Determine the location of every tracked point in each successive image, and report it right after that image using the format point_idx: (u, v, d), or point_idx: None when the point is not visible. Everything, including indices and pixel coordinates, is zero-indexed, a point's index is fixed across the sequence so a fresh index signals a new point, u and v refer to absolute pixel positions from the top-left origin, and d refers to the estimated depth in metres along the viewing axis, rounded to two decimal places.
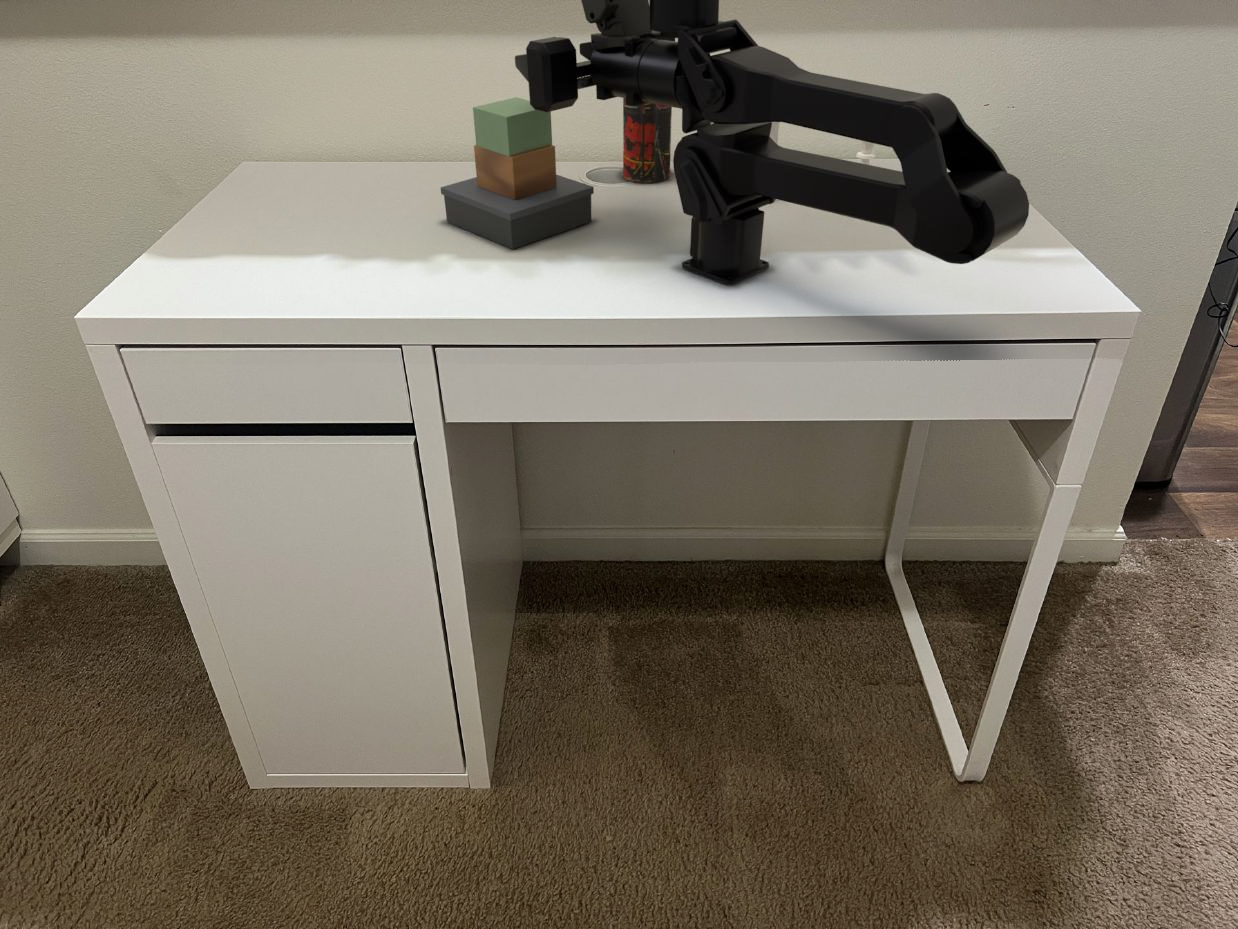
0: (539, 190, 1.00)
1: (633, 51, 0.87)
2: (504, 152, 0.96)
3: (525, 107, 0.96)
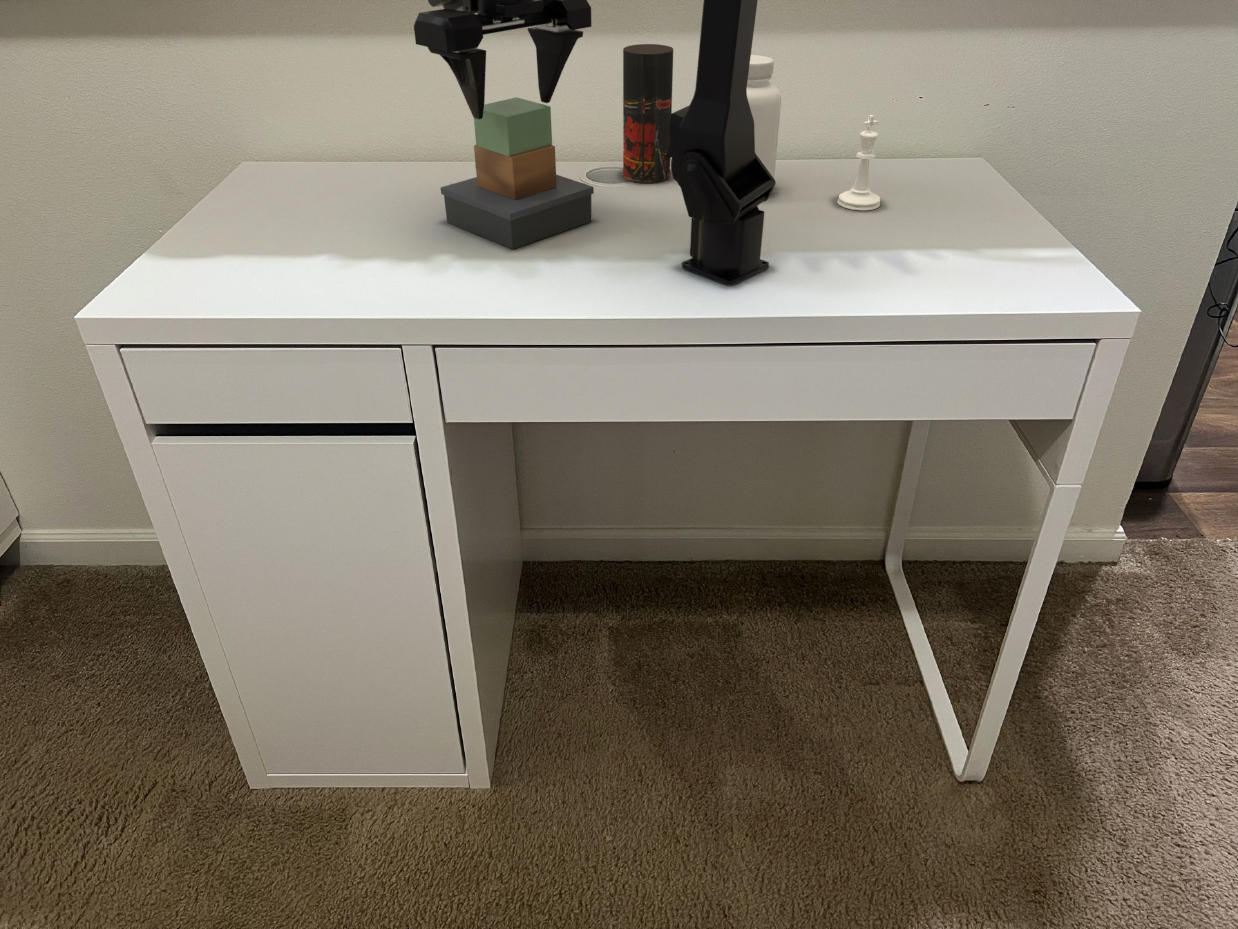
0: (539, 190, 1.00)
1: None
2: (504, 152, 0.96)
3: (525, 107, 0.96)
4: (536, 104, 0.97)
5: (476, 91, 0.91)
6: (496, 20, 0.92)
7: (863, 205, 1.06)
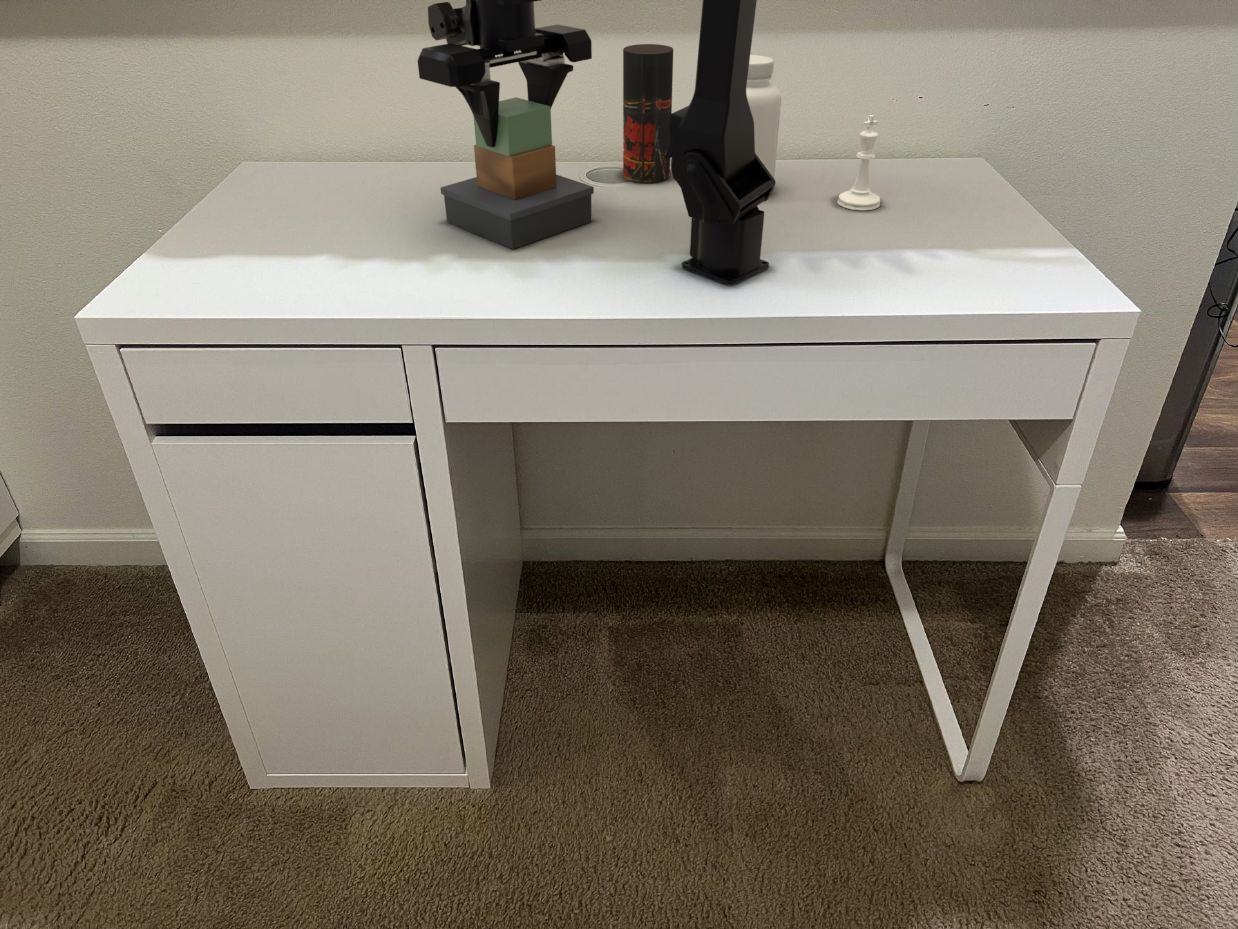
0: (539, 190, 1.00)
1: None
2: (504, 152, 0.96)
3: (525, 107, 0.96)
4: (536, 104, 0.97)
5: (490, 121, 0.93)
6: None
7: (863, 205, 1.06)
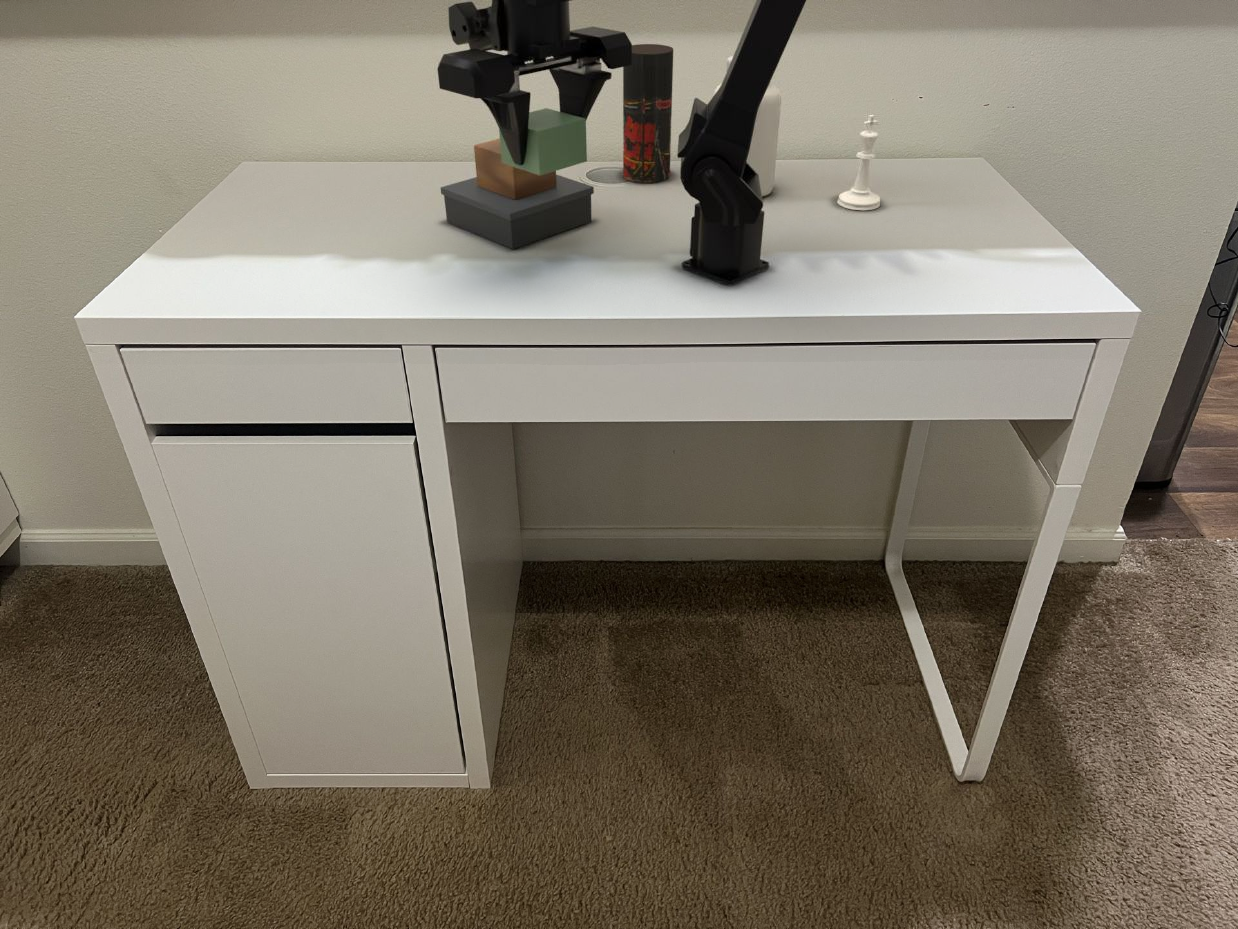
0: (539, 190, 1.00)
1: None
2: (534, 171, 0.85)
3: (557, 120, 0.85)
4: (569, 116, 0.86)
5: (518, 136, 0.83)
6: None
7: (863, 205, 1.06)
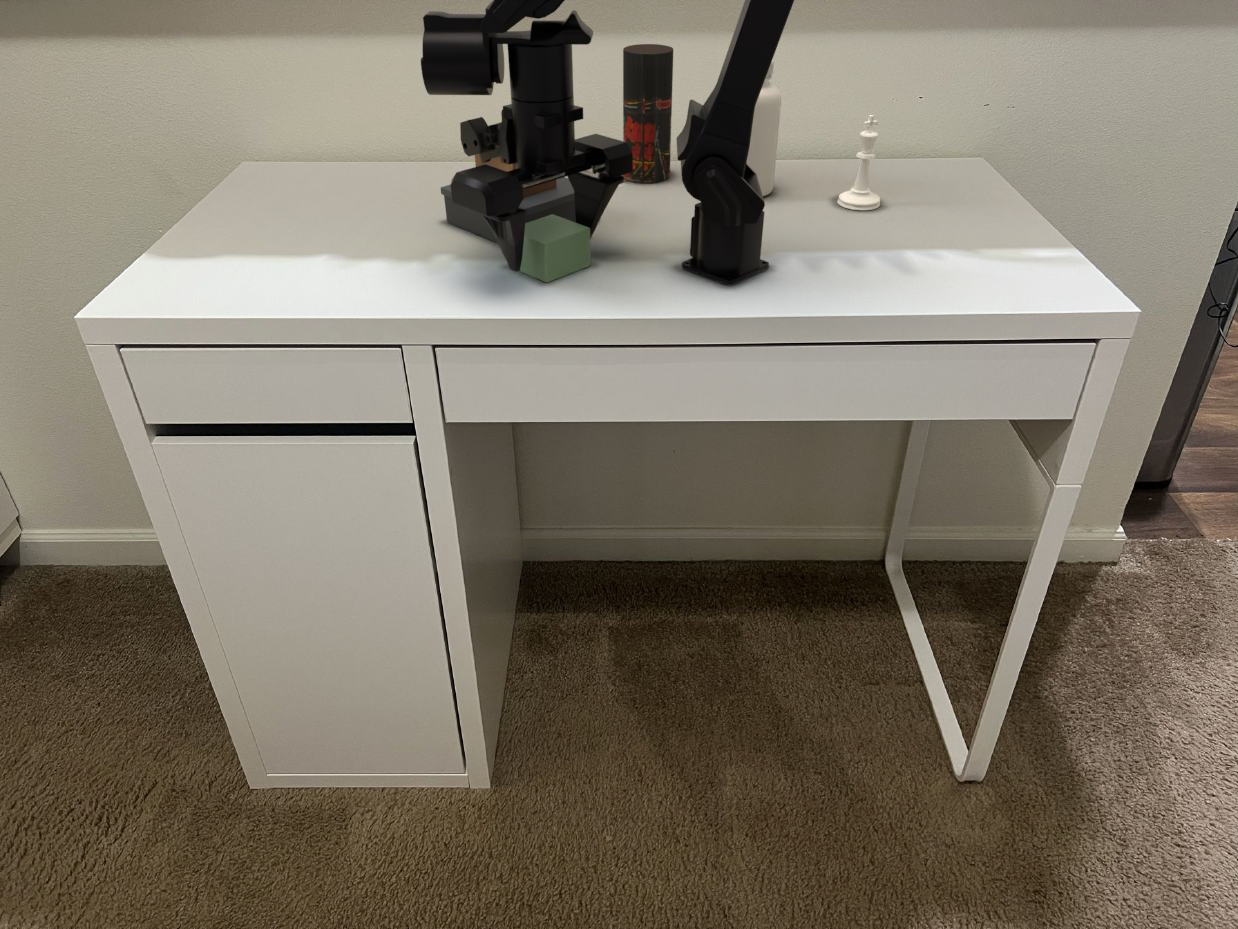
0: (539, 190, 1.00)
1: (510, 107, 0.84)
2: (541, 278, 0.90)
3: (563, 229, 0.91)
4: (574, 225, 0.92)
5: (514, 247, 0.87)
6: None
7: (863, 205, 1.06)
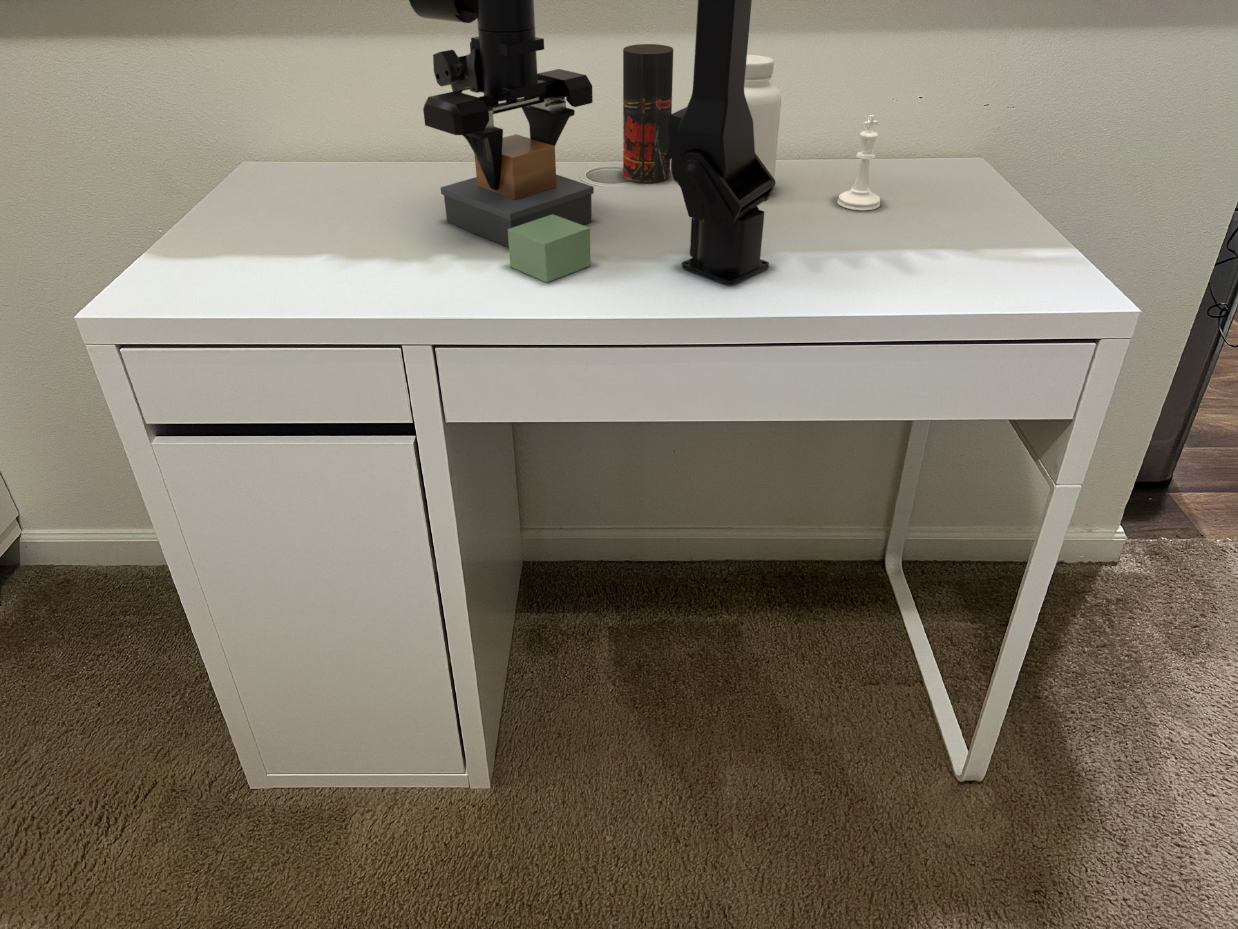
0: (539, 190, 1.00)
1: (477, 38, 0.93)
2: (541, 278, 0.90)
3: (563, 229, 0.91)
4: (574, 225, 0.92)
5: (493, 165, 0.96)
6: None
7: (863, 205, 1.06)
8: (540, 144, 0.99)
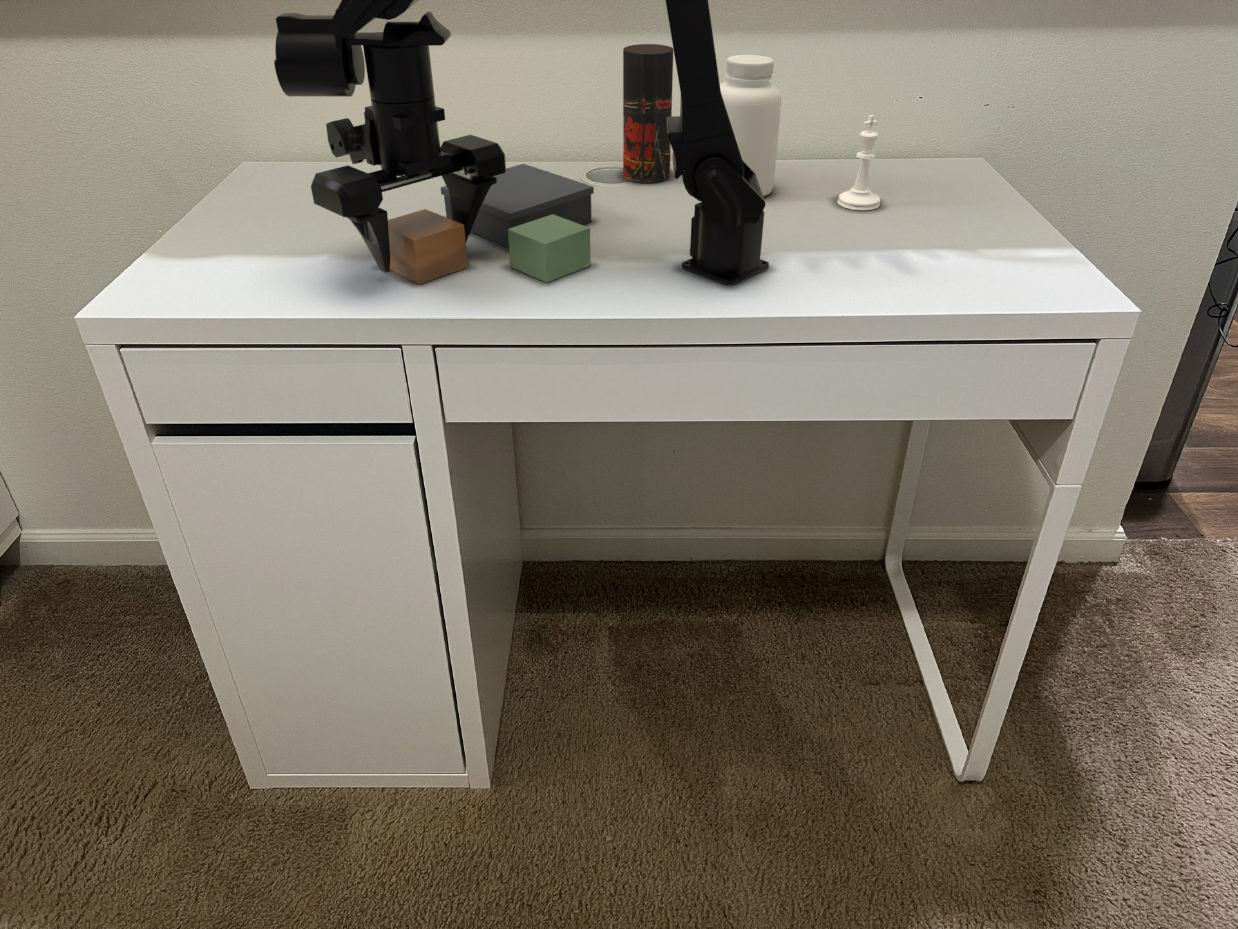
0: (448, 272, 0.92)
1: (371, 108, 0.84)
2: (541, 278, 0.90)
3: (563, 229, 0.91)
4: (574, 225, 0.92)
5: (380, 248, 0.87)
6: None
7: (863, 205, 1.06)
8: (448, 223, 0.91)
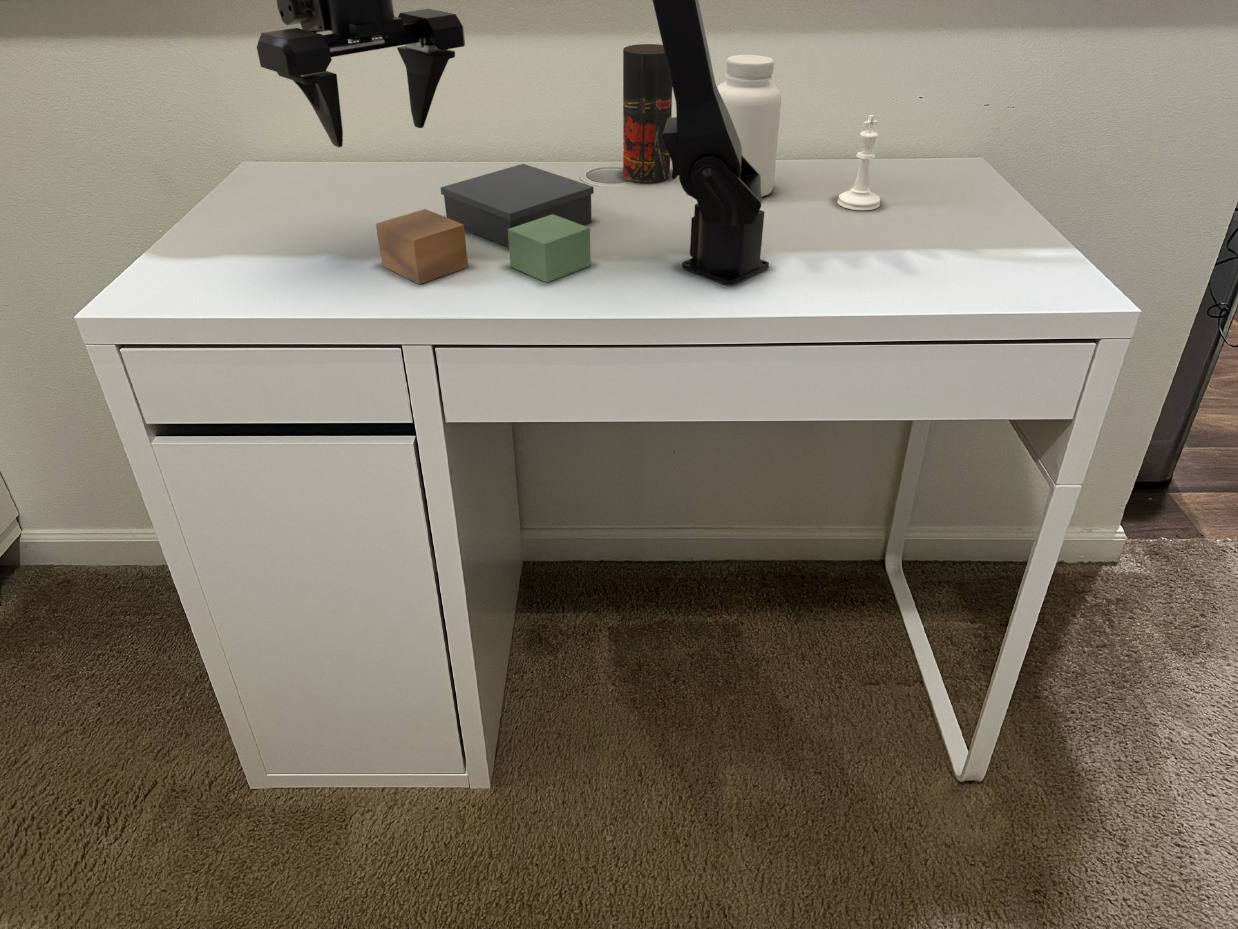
0: (448, 272, 0.92)
1: None
2: (541, 278, 0.90)
3: (563, 229, 0.91)
4: (574, 225, 0.92)
5: (330, 117, 0.83)
6: (354, 40, 0.85)
7: (863, 205, 1.06)
8: (448, 223, 0.91)
